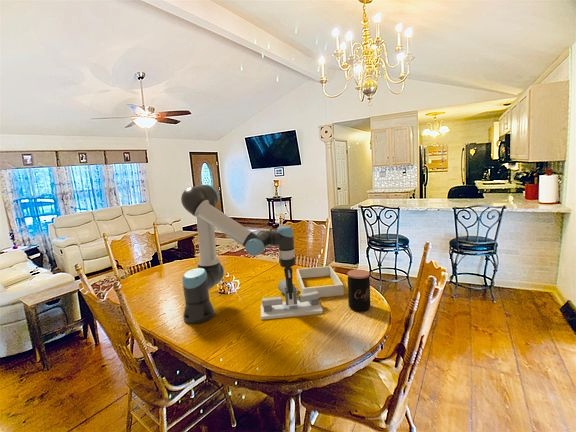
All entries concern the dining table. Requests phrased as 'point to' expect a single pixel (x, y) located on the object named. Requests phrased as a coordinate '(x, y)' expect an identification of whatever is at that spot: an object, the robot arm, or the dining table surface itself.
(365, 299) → the coffee jar
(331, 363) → the dining table surface
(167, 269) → the dining table surface
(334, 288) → the tray
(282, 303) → the white base plate
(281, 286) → the ceramic mug
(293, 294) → the dark grey block
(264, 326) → the dining table surface
